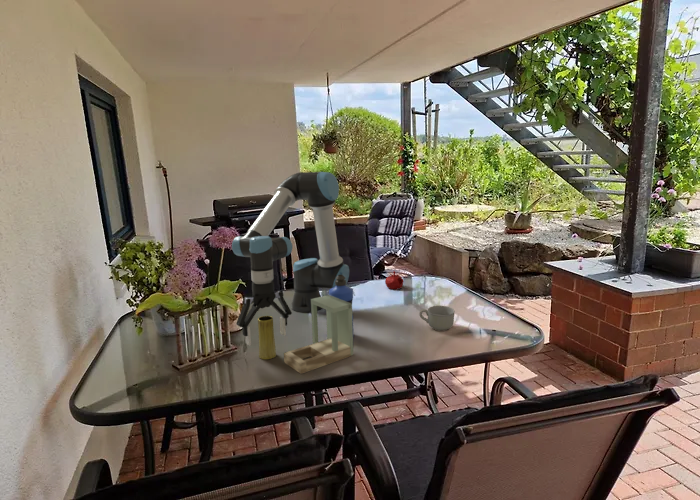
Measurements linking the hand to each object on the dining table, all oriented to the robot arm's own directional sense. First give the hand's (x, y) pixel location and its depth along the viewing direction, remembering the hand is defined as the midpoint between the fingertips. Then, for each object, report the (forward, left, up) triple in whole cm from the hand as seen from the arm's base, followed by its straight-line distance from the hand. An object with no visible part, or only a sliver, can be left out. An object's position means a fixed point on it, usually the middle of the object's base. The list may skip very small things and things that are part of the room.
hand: (266, 339), depth 156 cm
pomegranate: (-33, +93, -7) cm, 99 cm away
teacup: (+21, +66, -7) cm, 70 cm away
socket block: (+14, +12, -6) cm, 20 cm away
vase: (0, 0, -7) cm, 7 cm away
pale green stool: (+12, +20, -6) cm, 24 cm away
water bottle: (+3, +31, -7) cm, 32 cm away
